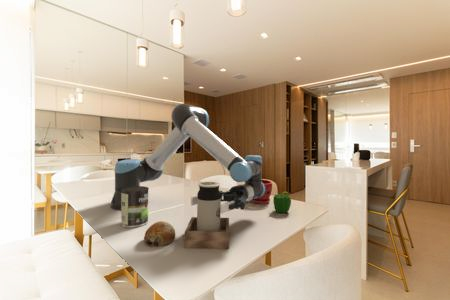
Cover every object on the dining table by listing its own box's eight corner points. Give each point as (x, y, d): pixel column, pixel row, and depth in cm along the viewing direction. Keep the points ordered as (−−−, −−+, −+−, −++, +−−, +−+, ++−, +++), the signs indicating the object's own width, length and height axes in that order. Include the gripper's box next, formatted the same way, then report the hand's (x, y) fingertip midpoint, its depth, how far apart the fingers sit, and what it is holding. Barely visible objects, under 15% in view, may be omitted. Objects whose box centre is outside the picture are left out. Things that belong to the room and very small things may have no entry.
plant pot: (243, 201, 125) (244, 180, 125) (258, 197, 134) (259, 178, 134) (261, 206, 115) (261, 184, 115) (276, 202, 124) (277, 181, 123)
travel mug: (192, 236, 75) (192, 184, 74) (206, 229, 82) (207, 181, 81) (210, 242, 71) (211, 187, 70) (224, 234, 77) (225, 183, 77)
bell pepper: (269, 211, 108) (269, 191, 107) (278, 208, 114) (278, 188, 113) (284, 215, 102) (285, 194, 101) (293, 212, 108) (294, 191, 107)
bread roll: (176, 252, 73) (185, 228, 76) (151, 249, 66) (161, 222, 69) (160, 243, 80) (168, 221, 82) (135, 239, 73) (145, 215, 75)
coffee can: (153, 219, 93) (153, 186, 93) (139, 229, 83) (139, 192, 83) (131, 217, 95) (131, 185, 95) (115, 226, 85) (115, 190, 85)
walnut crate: (184, 247, 69) (184, 232, 69) (191, 230, 83) (191, 217, 83) (228, 248, 69) (229, 233, 69) (228, 230, 83) (228, 217, 83)
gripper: (268, 209, 83) (235, 225, 67) (217, 198, 99) (180, 208, 82) (268, 189, 83) (236, 200, 66) (217, 181, 98) (181, 188, 82)
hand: (205, 205), depth 74 cm, fingers open, 13 cm apart
